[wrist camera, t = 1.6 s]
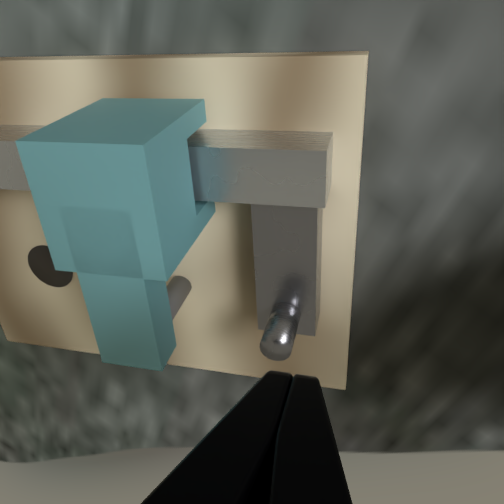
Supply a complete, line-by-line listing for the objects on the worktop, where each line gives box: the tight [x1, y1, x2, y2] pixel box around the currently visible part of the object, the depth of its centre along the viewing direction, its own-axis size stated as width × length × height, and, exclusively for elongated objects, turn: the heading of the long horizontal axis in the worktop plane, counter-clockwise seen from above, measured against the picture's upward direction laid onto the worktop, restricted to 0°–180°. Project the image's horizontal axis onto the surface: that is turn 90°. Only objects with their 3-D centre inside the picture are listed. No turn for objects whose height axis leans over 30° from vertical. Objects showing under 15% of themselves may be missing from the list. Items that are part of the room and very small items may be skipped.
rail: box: [0, 125, 333, 208], centre depth 19 cm, size 17×2×2 cm, turn 93°
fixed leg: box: [251, 204, 323, 361], centre depth 18 cm, size 2×6×4 cm, turn 3°
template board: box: [0, 51, 369, 390], centre depth 22 cm, size 19×15×1 cm
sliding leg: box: [15, 98, 216, 371], centre depth 18 cm, size 4×9×5 cm, turn 3°
